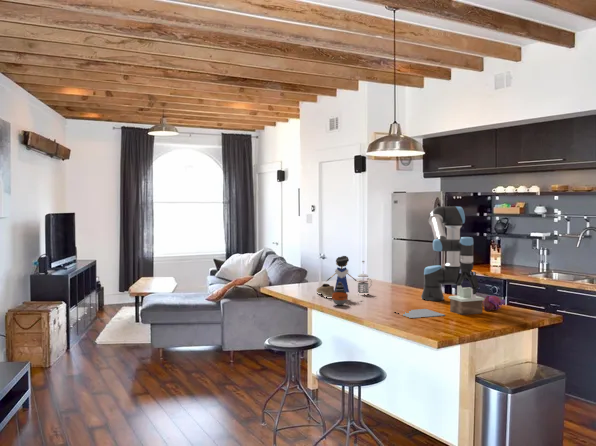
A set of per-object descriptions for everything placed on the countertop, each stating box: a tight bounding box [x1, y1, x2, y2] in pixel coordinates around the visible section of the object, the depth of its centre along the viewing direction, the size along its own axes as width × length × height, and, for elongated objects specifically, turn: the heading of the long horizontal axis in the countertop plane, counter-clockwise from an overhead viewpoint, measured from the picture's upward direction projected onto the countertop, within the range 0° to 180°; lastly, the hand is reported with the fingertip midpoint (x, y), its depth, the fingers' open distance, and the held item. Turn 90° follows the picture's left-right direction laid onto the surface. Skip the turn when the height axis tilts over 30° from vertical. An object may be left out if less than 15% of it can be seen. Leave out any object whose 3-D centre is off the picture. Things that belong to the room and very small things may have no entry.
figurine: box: [325, 255, 359, 293], centre depth 361 cm, size 23×9×30 cm, turn 84°
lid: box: [448, 286, 485, 302], centre depth 312 cm, size 12×16×7 cm
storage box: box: [449, 299, 484, 316], centre depth 312 cm, size 11×15×8 cm
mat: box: [402, 308, 446, 319], centre depth 307 cm, size 20×24×1 cm
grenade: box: [331, 282, 349, 306], centre depth 335 cm, size 11×10×15 cm
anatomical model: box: [483, 294, 506, 312], centre depth 321 cm, size 12×10×15 cm
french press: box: [357, 260, 373, 293], centre depth 378 cm, size 10×12×25 cm
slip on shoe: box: [316, 283, 335, 297], centre depth 375 cm, size 30×11×9 cm, turn 7°
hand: (466, 297), depth 312 cm, fingers closed on lid, 12 cm apart
